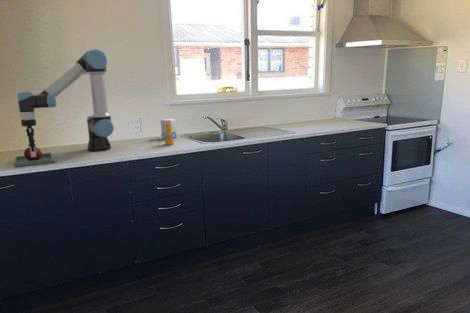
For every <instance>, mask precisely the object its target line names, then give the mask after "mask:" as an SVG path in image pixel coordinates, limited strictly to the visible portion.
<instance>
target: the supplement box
mask: <svg viewBox="0 0 470 313" xmlns="http://www.w3.org/2000/svg"><path fill="white" fill-rule="evenodd" d="M166 123H171V131H172V132H176V134H177V135H178V128H177V127H178V126H177V119H176V118H165V119H161V120H160V127H161V129H160V130H161V134H162V133H163V132H165V133H166V127H165V124H166ZM165 136H166V135H165V134H163V137H165ZM172 136H173V137H174V136H175V134H172ZM177 138H178V136H177V137H176V138H173V140H174V139H177Z"/></svg>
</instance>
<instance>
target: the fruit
mask: <svg viewBox="0 0 470 313" xmlns="http://www.w3.org/2000/svg"><path fill="white" fill-rule="evenodd" d="M35 150H36V156H37V157H31V152H30V146H28V147H27V148H26V149H25V150H24V151H23V156H25V157H26V158H27V159H28V160H29V161H33V160H39V159H40V158H41V157H42V154H43V151H42V150H41V149H40V148H38V147H37V144H35Z"/></svg>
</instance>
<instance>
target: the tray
mask: <svg viewBox="0 0 470 313" xmlns="http://www.w3.org/2000/svg"><path fill="white" fill-rule="evenodd" d="M13 163H14V168H23V167H30V166H37V165H46V164H53V163H55V158H54V155H53V153H52V152H46V153H42V157H41V158H40V159H39V160H33V161H29V160H28V159H27V158H26V157H25V156H24V155H18V156H14V162H13Z"/></svg>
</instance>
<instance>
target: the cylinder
mask: <svg viewBox="0 0 470 313" xmlns="http://www.w3.org/2000/svg"><path fill="white" fill-rule="evenodd" d="M165 127H166V133H165V132H163V133H162V132H161V134H160V135H161V136H160V137H161V139H162V140H164V144H165V146H173V145H174V143H175V142H174V139H177V138H178V133H177V134H176V132H172V131H171V123H166V124H165ZM163 134H165V135H166V136H165V137H163ZM172 134H175V136H174V137H173V136H172ZM176 137H177V138H176ZM173 138H174V139H173Z"/></svg>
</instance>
